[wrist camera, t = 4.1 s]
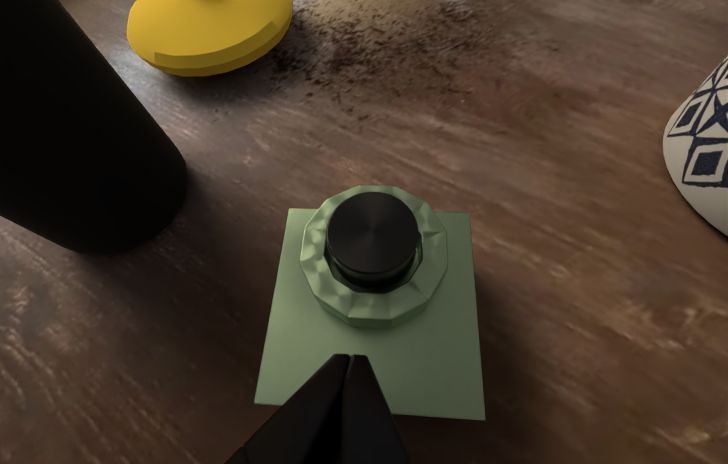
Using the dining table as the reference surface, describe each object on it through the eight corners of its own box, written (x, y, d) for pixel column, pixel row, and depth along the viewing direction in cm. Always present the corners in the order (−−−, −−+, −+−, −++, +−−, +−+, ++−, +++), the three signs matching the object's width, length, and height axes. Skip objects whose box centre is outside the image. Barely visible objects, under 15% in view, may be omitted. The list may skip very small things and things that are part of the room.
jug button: (415, 291, 16) (418, 276, 14) (327, 287, 16) (320, 272, 15) (415, 214, 18) (418, 191, 16) (336, 211, 18) (330, 189, 16)
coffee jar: (128, 129, 32) (-141, -162, 16) (222, 172, 29) (11, -130, 13) (30, 225, 28) (-467, -33, 12) (127, 285, 25) (-350, 55, 9)
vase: (142, 16, 39) (95, -60, 33) (281, -20, 41) (261, -99, 34) (149, 115, 32) (91, 43, 26) (317, 68, 34) (300, -11, 27)
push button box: (461, 418, 20) (497, 422, 13) (286, 406, 21) (237, 403, 14) (452, 247, 25) (476, 186, 18) (309, 243, 25) (281, 183, 19)
